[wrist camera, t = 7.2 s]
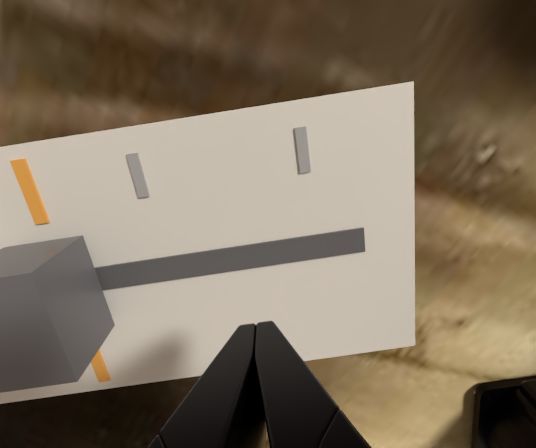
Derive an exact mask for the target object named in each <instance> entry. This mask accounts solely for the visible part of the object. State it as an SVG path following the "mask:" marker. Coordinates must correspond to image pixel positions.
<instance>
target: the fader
mask: <svg viewBox="0 0 536 448" xmlns="http://www.w3.org/2000/svg"><path fill="white" fill-rule="evenodd" d="M114 326H115V324H114V321H113V318H112V316H111V313H110V310H109V307H108V304H107V302H106V299H105V296H104V293H103V290H102V288H101V285H100V282H99V279H98V277H97V274H96V271H95V268H94V265H93V263H92V260H91V257H90V254H89V251H88V249H87V246H86V243H85V240H84V237H83V235H81V236H75V237H68V238H62V239H55V240H48V241H42V242H35V243H29V244H22V245H16V246H9V247H4V248H2V249H0V393H2V392H9V391H17V390H24V389H31V388H38V387H45V386H52V385H59V384H66V383H73V382H78V380H79V379H80V377H81V376H82V374H83V373H84V371H85V370H86V368H87V367H88V365H89V364H90V362H91V361H92V359H93V358H94V356H95V355H96V353H97V352H98V350H99V349H100V347H101V346H102V344H103V343H104V341H105V340H106V338H107V337H108V335H109V334H110V332H111V330H112V329H113V327H114Z"/></svg>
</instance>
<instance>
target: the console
mask: <svg viewBox="0 0 536 448" xmlns="http://www.w3.org/2000/svg"><path fill="white" fill-rule="evenodd" d="M81 235H83V237H84V240H85V243H86V246H87V249H88V251H89V254H90V257H91V260H92V263H93V265H94V268H95V271H96V274H97V277H98V279H99V282H100V285H101V288H102V290H103V293H104V296H105V299H106V302H107V304H108V307H109V310H110V313H111V316H112V318H113V321H114V324H115V326H114V327H113V329H112V330H111V332H110V334H109V335H108V337H107V338H106V340H105V341H104V343H103V344H102V346H101V347H100V349H99V350H98V352H97V353H96V355H95V356H94V358H93V359H92V361H91V362H90V364H89V365H88V367H87V368H86V370H85V371H84V373H83V374H82V376H81V377H80V379H79V380H78V382H73V383H66V384H59V385H52V386H45V387H38V388H31V389H24V390H17V391H9V392H2V393H0V404H3V403H10V402H17V401H24V400H31V399H38V398H45V397H52V396H59V395H67V394H74V393H81V392H88V391H95V390H102V389H109V388H116V387H123V386H131V385H138V384H145V383H152V382H159V381H166V380H173V379H180V378H187V377H194V376H202V374H203V373H204V372H205V370H206V369H207V368H208V366H209V365H210V364H211V362H212V361H213V360H214V358H215V357H216V356H217V354H218V353H219V352H220V350H221V349H222V348H223V346H224V345H225V344H226V342H227V341H228V340H229V338H230V337H231V336H232V334H233V333H234V332H235V330H236V329H237V328H238V326H240V325H244V324H251V323H254V324H256V325H257V323H259V322H265V321H273V322H274V323H275V324H276V326H277V327H278V328H279V329H280V331H281V332H282V333H283V335H284V336H285V337H286V339H287V340H288V341H289V343H290V344H291V345H292V346H293V348H294V349H295V350H296V352H297V353H298V354H299V356H300V357H301V358H302V360H303V361H308V360H315V359H322V358H330V357H337V356H344V355H351V354H358V353H365V352H372V351H379V350H386V349H393V348H401V347H408V346H415V218H414V81H413V82H407V83H400V84H394V85H388V86H382V87H375V88H369V89H363V90H356V91H350V92H344V93H338V94H331V95H325V96H319V97H312V98H306V99H300V100H294V101H287V102H281V103H275V104H268V105H262V106H256V107H249V108H243V109H237V110H231V111H224V112H218V113H212V114H205V115H199V116H193V117H187V118H180V119H174V120H168V121H161V122H155V123H149V124H142V125H136V126H130V127H124V128H117V129H111V130H105V131H98V132H92V133H86V134H80V135H73V136H67V137H61V138H54V139H48V140H42V141H35V142H29V143H23V144H17V145H10V146H4V147H0V249H2V248H4V247H9V246H16V245H22V244H29V243H35V242H42V241H48V240H55V239H62V238H68V237H75V236H81Z"/></svg>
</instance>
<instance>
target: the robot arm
mask: <svg viewBox="0 0 536 448" xmlns="http://www.w3.org/2000/svg"><path fill="white" fill-rule="evenodd" d="M266 427H267V433H268V438H269V444H270V448H371V446H370V445H369V444H368V443H367V442H366V440H365V439H364V438H363V437H362V436H361V434H360V433H359V432H358V431H357V429H356V428H355V427H354V426H353V425H352V423H351V422H350V421H349V419H348V418H347V417H346V415H345V414H344V413H343V412H342V410H340V409H339V407H338V405H337V404H336V403H335V401H334V400H333V399H332V397H331V396H330V395H329V394H328V392H327V391H326V390H325V388H324V387H323V386H322V384H321V383H320V382H319V380H318V379H317V378H316V377H315V375H314V374H313V373H312V371H311V370H310V369H309V367H308V366H307V365H306V363H305V362H304V361H303V360H302V358H301V357H300V356H299V354H298V353H297V352H296V350H295V349H294V348H293V346H292V345H291V344H290V343H289V341H288V340H287V339H286V337H285V336H284V335H283V333H282V332H281V331H280V329H279V328H278V327H277V326H276V324H275V323H274V322H273V321H265V322H259V323H257V325H256V324H254V323H251V324H244V325H240V326H238V328H237V329H236V330H235V332H234V333H233V334H232V336H231V337H230V338H229V340H228V341H227V342H226V344H225V345H224V346H223V348H222V349H221V350H220V352H219V353H218V354H217V356H216V357H215V358H214V360H213V361H212V362H211V364H210V365H209V366H208V368H207V369H206V370H205V372H204V373H203V374H202V376H201V377H200V378H199V380H198V381H197V382H196V384H195V385H194V386H193V387H192V389H191V390H190V391H189V393H188V394H187V395H186V397H185V398H184V399H183V401H182V402H181V403H180V405H179V406H178V407H177V409H176V410H175V411H174V413H173V414H172V415H171V417H170V418H169V419H168V421H167V422H166V423H165V425H164V426H163V427H162V429H161V430H160V431H159V435H160V436H159V435H157V436H156V437H155V438H154V439H153V441H152V442H151V443H150V444H149V446H148V447H147V448H265V445H266ZM472 448H536V377H530V378H523V379H515V380H508V381H501V382H494V383H486V384H482V385H481V386H479V387H478V388H477V389H476V393H475V407H474V421H473V435H472Z"/></svg>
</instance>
